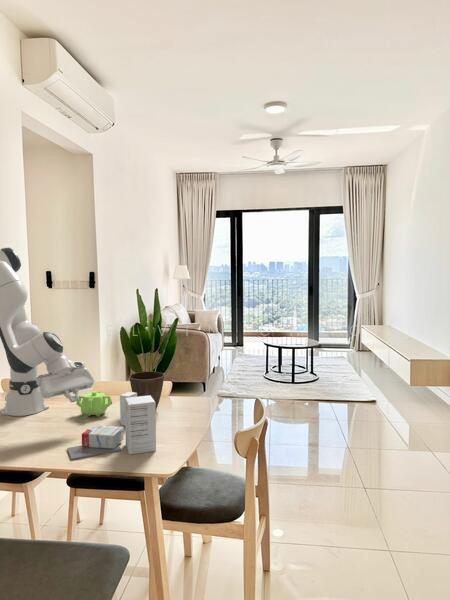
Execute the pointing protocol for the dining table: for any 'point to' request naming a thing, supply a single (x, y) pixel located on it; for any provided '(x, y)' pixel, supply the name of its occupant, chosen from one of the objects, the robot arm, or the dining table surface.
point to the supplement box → (140, 424)
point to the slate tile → (89, 451)
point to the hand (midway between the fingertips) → (75, 400)
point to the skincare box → (122, 405)
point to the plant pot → (147, 384)
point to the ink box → (102, 436)
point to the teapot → (94, 403)
